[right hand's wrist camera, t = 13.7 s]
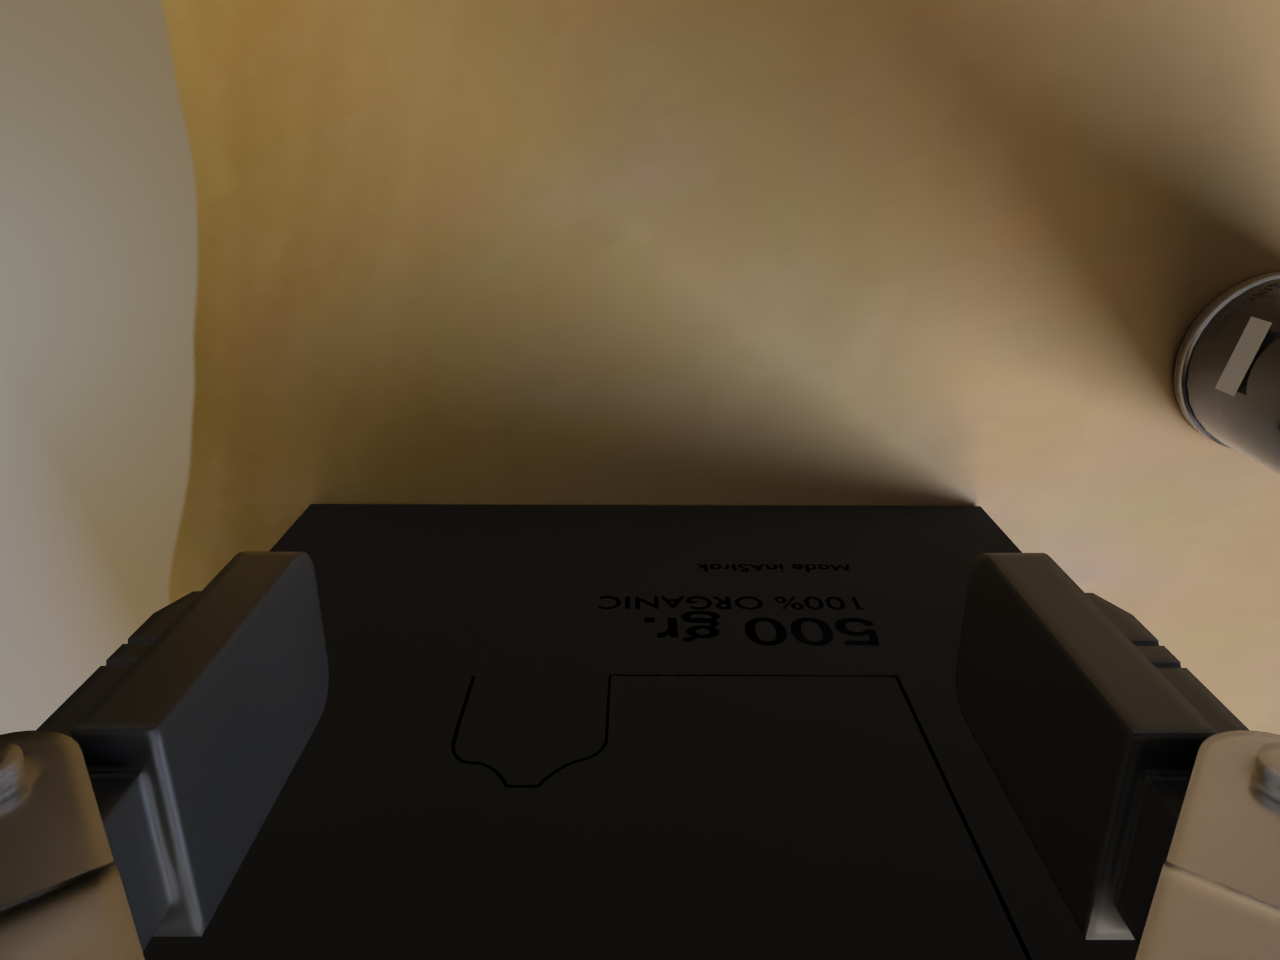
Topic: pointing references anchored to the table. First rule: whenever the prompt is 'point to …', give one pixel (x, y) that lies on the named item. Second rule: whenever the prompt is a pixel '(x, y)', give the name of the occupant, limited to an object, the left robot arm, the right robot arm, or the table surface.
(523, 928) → the cardboard box
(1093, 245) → the table surface
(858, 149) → the table surface
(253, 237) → the table surface
